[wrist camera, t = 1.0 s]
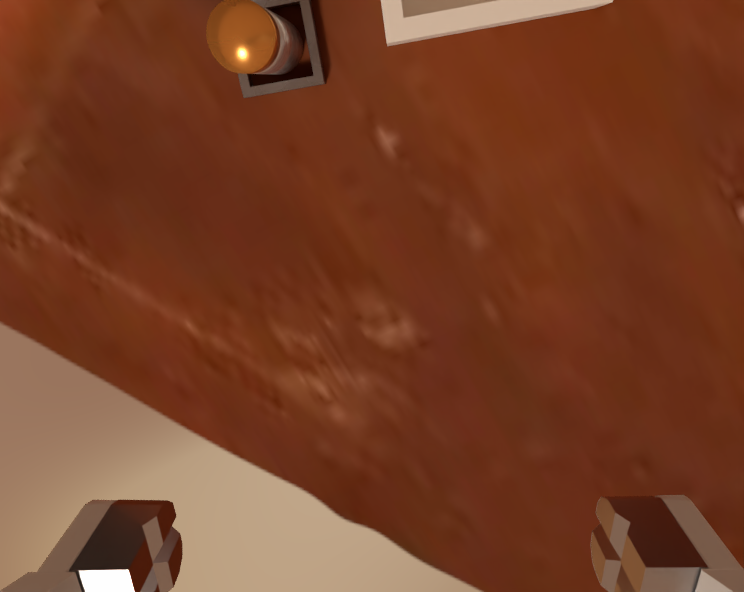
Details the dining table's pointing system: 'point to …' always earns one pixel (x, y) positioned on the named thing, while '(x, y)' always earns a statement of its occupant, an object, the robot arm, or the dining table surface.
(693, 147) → the dining table surface
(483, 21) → the tray
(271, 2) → the wheeled grey cart
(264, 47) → the jar with orange lid
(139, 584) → the robot arm
